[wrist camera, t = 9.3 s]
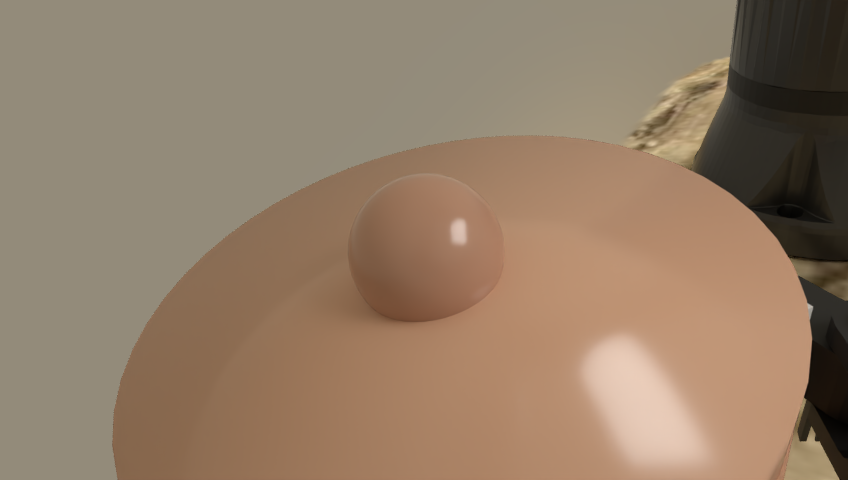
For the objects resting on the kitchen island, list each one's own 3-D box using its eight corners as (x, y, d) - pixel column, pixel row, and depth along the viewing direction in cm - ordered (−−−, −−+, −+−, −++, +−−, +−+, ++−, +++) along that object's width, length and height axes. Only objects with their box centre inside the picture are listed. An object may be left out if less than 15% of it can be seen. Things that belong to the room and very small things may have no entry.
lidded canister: (377, 431, 19) (238, 110, 12) (659, 423, 17) (681, 30, 10) (292, 823, 11) (-222, 538, 4) (796, 898, 9) (1302, 571, 2)
